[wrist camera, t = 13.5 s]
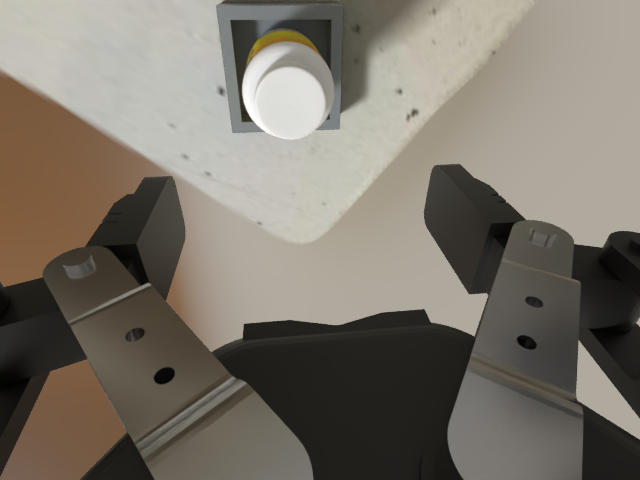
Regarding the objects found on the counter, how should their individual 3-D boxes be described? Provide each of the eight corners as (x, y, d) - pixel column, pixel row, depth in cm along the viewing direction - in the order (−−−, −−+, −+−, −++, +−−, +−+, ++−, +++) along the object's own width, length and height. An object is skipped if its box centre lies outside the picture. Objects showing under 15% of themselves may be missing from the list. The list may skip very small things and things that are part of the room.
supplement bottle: (242, 27, 27) (231, 49, 19) (319, 25, 28) (342, 46, 19) (251, 107, 30) (246, 156, 22) (320, 104, 31) (340, 150, 23)
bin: (220, 3, 27) (216, 5, 25) (336, 3, 28) (343, 5, 25) (235, 121, 32) (232, 133, 29) (334, 117, 33) (339, 129, 30)
